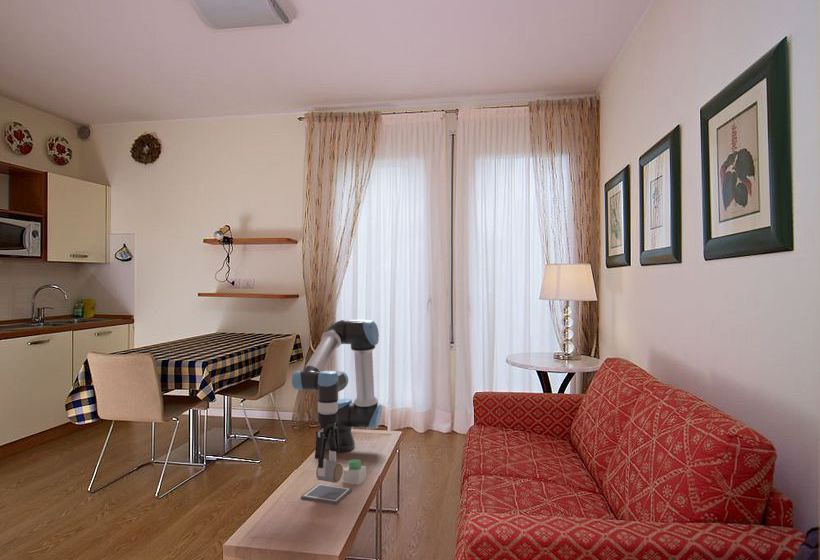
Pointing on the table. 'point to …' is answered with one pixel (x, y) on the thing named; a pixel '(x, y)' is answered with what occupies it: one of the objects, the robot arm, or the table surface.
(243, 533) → the table surface
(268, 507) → the table surface
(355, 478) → the button box
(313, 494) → the mat
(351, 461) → the button
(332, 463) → the ceramic mug
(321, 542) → the table surface
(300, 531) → the table surface
